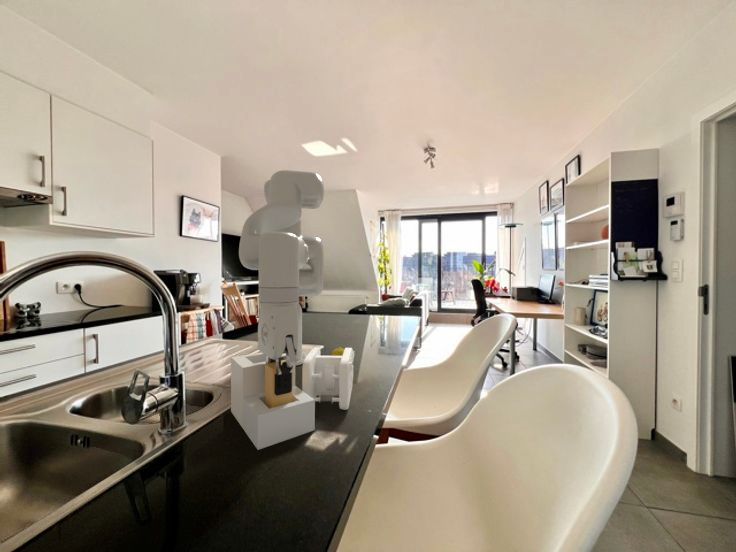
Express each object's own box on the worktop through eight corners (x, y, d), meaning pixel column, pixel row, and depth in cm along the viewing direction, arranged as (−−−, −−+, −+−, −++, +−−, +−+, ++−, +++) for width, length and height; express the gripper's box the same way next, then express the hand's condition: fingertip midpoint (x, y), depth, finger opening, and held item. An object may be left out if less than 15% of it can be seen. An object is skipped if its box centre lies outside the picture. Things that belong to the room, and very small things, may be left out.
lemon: (349, 370, 95) (349, 345, 95) (346, 376, 90) (346, 349, 90) (332, 369, 96) (332, 344, 96) (328, 376, 90) (328, 349, 90)
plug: (264, 404, 60) (264, 363, 60) (284, 399, 63) (284, 360, 63) (272, 411, 57) (272, 369, 57) (292, 406, 60) (292, 365, 60)
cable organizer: (314, 388, 81) (314, 344, 81) (354, 388, 81) (354, 345, 81) (301, 415, 66) (301, 361, 66) (349, 416, 66) (350, 362, 66)
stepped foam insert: (231, 411, 67) (231, 357, 67) (279, 398, 74) (279, 349, 74) (257, 449, 53) (257, 381, 53) (314, 430, 60) (315, 369, 60)
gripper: (246, 294, 64) (246, 381, 64) (276, 301, 51) (275, 411, 51) (281, 292, 68) (280, 374, 69) (316, 298, 55) (316, 399, 56)
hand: (278, 388), depth 60 cm, fingers closed on plug, 3 cm apart
